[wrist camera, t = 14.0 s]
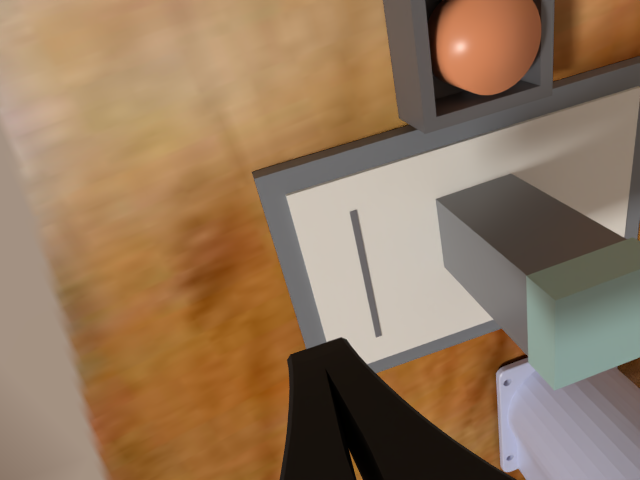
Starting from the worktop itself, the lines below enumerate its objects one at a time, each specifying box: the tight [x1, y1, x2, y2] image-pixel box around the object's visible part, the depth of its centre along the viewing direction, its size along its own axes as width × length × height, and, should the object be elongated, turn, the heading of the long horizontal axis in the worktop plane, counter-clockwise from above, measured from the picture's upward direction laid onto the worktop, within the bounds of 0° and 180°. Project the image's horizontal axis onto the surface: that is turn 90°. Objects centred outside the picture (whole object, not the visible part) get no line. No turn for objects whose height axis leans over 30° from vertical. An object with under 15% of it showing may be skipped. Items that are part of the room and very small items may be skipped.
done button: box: [427, 0, 541, 95], centre depth 17 cm, size 3×3×2 cm
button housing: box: [383, 0, 554, 134], centre depth 18 cm, size 5×5×2 cm
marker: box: [436, 174, 640, 391], centre depth 19 cm, size 4×4×8 cm
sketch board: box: [252, 56, 640, 373], centre depth 23 cm, size 12×18×1 cm, turn 102°
